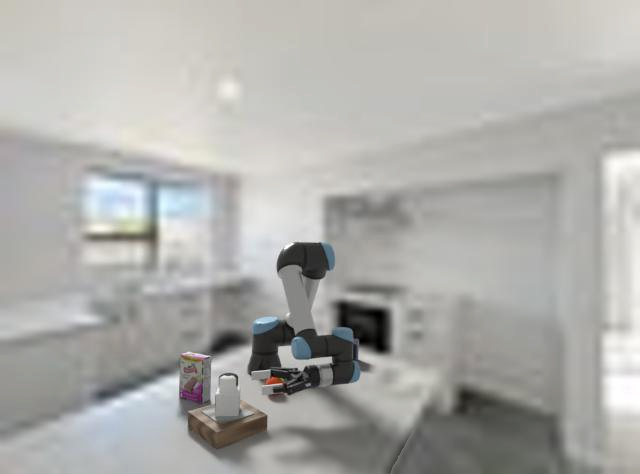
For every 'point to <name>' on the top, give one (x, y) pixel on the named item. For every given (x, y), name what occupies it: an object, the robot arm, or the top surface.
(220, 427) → the walnut base
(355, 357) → the small box
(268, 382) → the clementine
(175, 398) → the top surface
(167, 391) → the top surface
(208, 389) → the candy bar box
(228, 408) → the medicine bottle
